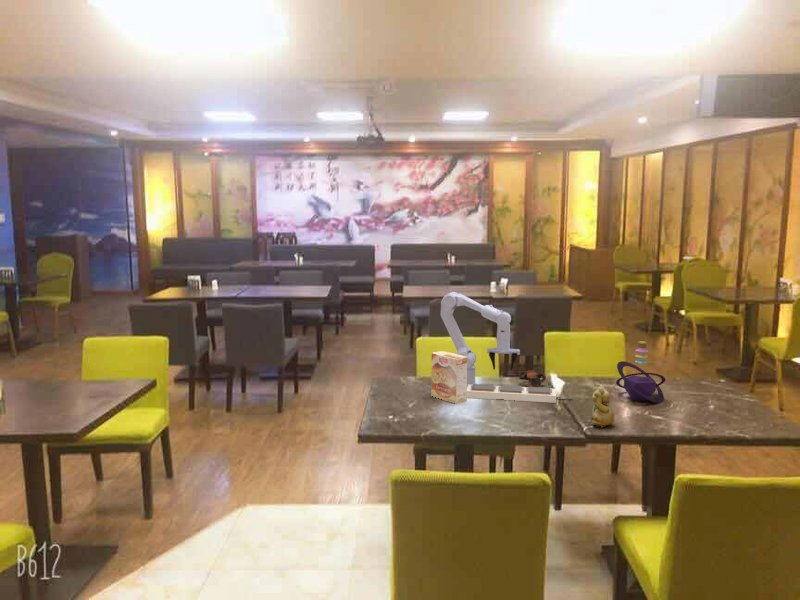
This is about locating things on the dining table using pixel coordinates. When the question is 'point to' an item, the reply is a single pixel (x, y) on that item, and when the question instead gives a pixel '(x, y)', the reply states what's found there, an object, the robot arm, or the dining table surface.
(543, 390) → the right button
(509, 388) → the middle button
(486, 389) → the left button
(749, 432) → the dining table surface
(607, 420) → the decorative figurine
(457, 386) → the coffeecake box
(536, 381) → the brown grey irregular piece
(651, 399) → the decorative bottle
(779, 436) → the dining table surface
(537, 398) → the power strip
